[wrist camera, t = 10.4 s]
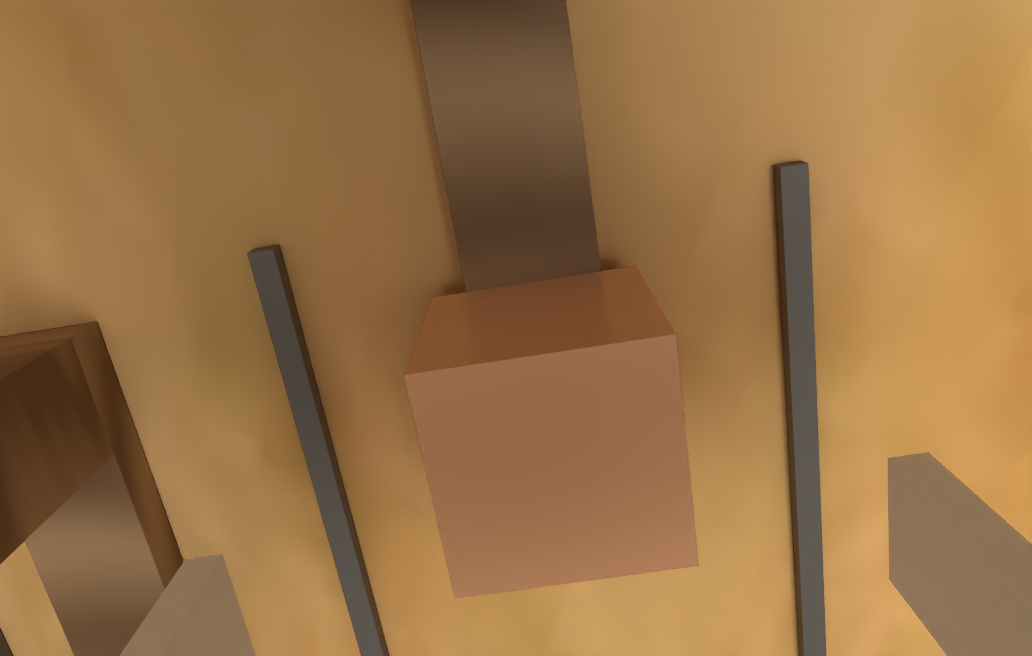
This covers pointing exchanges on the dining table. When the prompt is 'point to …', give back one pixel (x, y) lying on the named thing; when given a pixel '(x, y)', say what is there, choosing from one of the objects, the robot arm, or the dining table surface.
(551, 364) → the cube
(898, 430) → the dining table surface
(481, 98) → the brown l-shaped block
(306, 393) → the bar
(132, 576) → the brown l-shaped bracket
